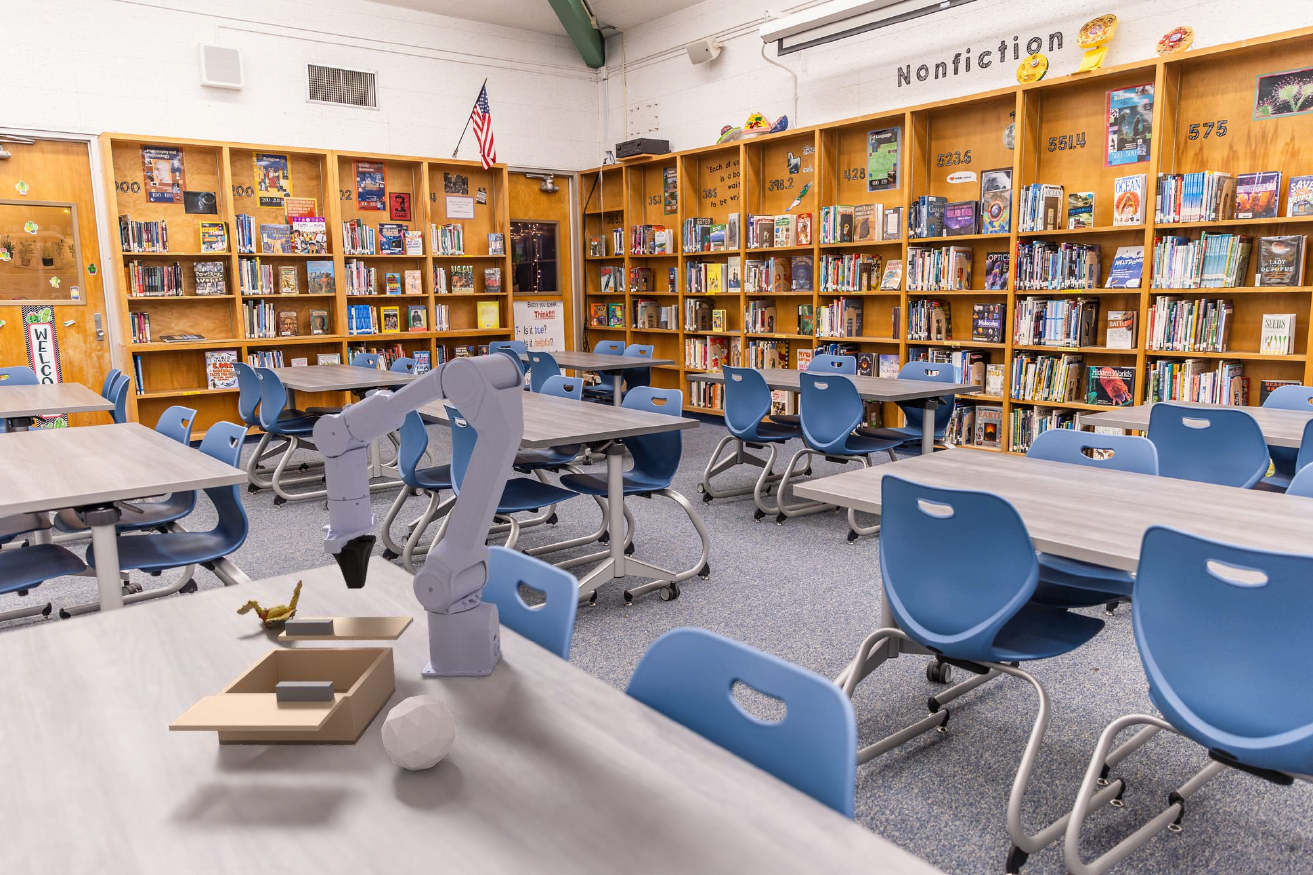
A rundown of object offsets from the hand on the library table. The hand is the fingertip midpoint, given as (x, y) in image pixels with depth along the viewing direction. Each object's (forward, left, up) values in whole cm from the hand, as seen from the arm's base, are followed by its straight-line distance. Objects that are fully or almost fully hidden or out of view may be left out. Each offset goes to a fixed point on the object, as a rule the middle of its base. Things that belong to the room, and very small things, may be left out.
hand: (356, 587), depth 127 cm
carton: (-2, +21, -9) cm, 23 cm away
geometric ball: (-19, +32, -10) cm, 38 cm away
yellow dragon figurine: (+17, -10, -10) cm, 22 cm away
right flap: (-2, +9, -3) cm, 10 cm away
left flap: (-2, +33, -3) cm, 33 cm away
